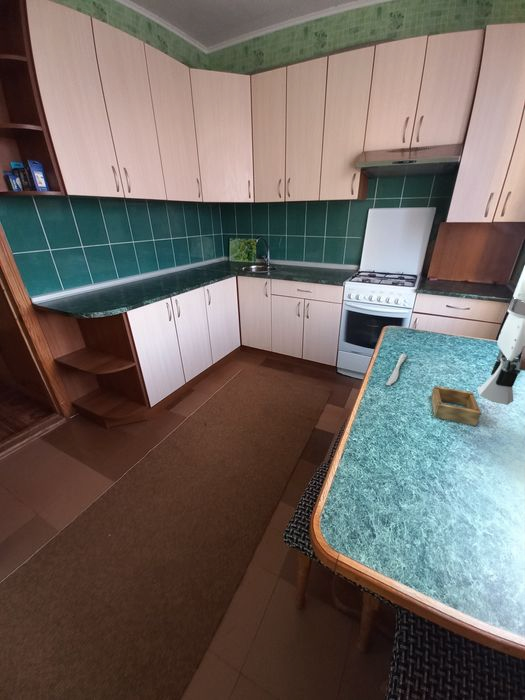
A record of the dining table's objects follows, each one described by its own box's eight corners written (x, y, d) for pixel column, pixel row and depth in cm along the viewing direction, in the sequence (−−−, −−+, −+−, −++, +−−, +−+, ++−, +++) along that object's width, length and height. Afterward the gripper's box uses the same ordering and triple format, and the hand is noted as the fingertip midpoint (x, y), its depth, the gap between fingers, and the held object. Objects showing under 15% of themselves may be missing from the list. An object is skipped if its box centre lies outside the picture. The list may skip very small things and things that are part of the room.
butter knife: (409, 354, 118) (401, 352, 120) (392, 386, 99) (384, 383, 100) (409, 356, 118) (401, 353, 120) (392, 388, 99) (383, 385, 101)
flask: (511, 409, 67) (528, 372, 62) (474, 396, 71) (487, 361, 67) (514, 395, 71) (531, 359, 67) (479, 384, 76) (492, 350, 71)
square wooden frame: (468, 404, 90) (472, 392, 88) (476, 425, 82) (481, 413, 80) (430, 397, 94) (434, 385, 92) (434, 417, 85) (438, 405, 83)
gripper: (575, 323, 53) (534, 404, 61) (538, 298, 66) (508, 367, 75) (524, 318, 55) (491, 397, 64) (499, 295, 69) (474, 362, 77)
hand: (501, 380), depth 69 cm, fingers closed on flask, 3 cm apart
